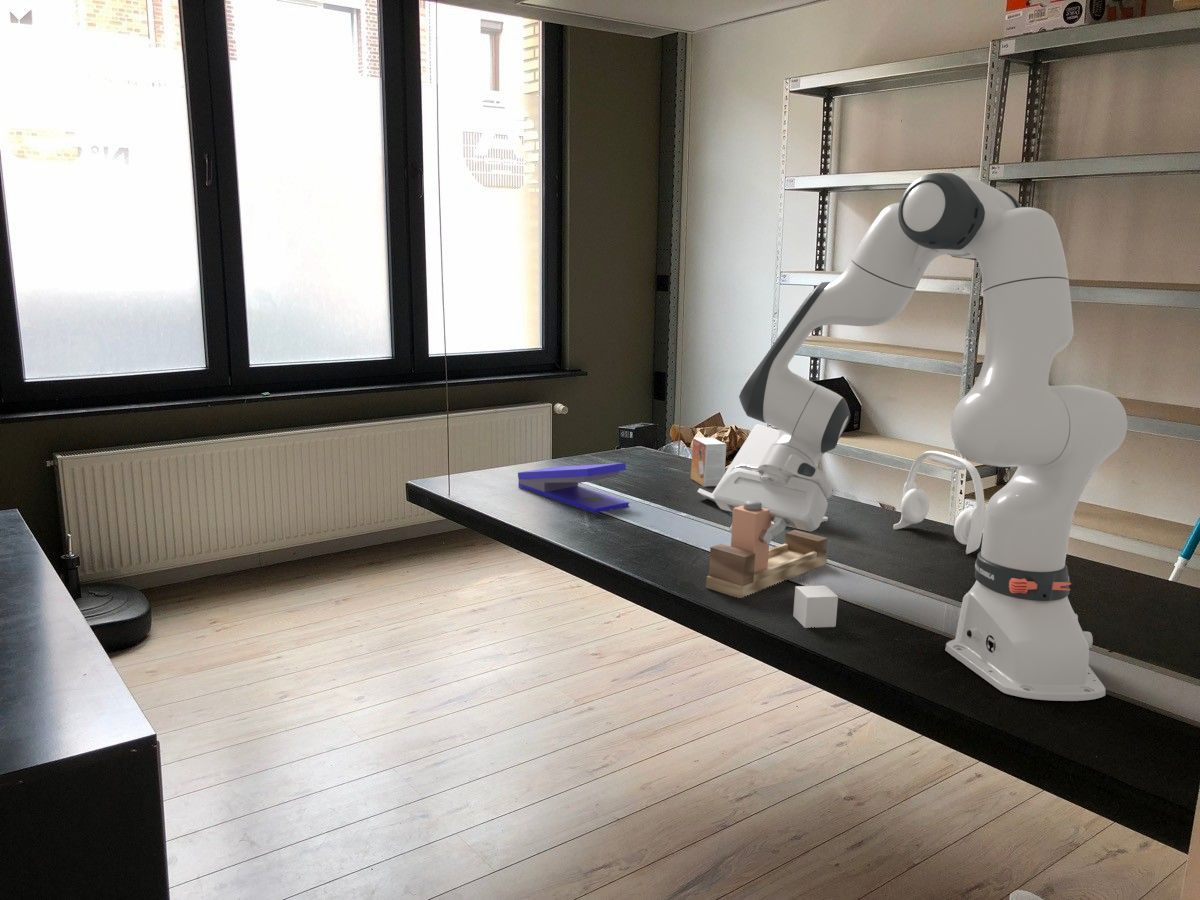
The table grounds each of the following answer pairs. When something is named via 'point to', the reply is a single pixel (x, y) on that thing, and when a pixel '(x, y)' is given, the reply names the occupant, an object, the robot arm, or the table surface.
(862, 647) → the table surface
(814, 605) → the white cube
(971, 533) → the headset
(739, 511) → the pink capped carton
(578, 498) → the stapler
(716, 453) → the small box
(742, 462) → the tablet stand
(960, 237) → the robot arm
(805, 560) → the track
